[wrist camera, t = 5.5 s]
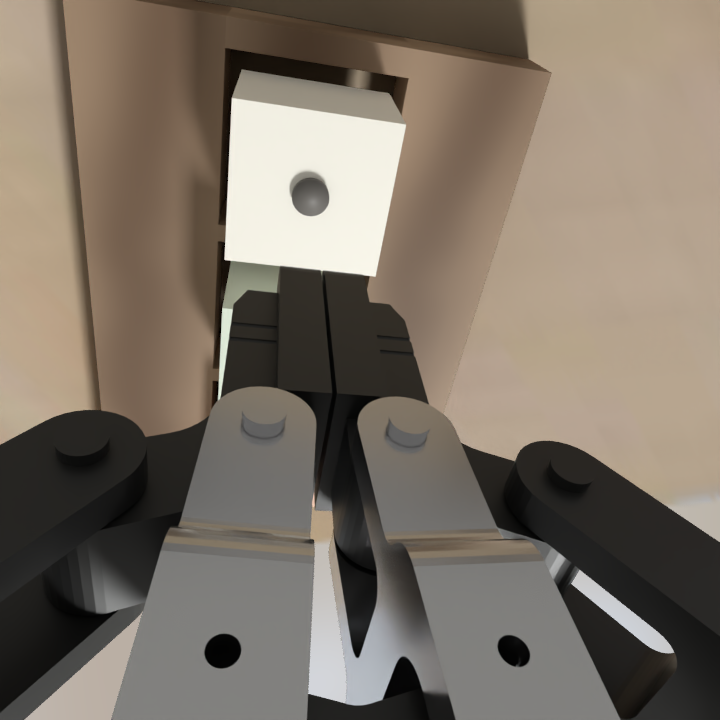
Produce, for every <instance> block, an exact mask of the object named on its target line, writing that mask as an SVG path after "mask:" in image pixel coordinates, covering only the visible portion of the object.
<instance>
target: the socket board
mask: <svg viewBox="0 0 720 720" xmlns="http://www.w3.org/2000/svg"><path fill="white" fill-rule="evenodd" d="M63 8H64V19H65V29H66V40H67V51H68V61H69V72H70V82H71V93H72V104H73V114H74V125H75V136H76V146H77V157H78V168H79V178H80V189H81V199H82V210H83V221H84V231H85V242H86V253H87V263H88V274H89V284H90V295H91V306H92V316H93V327H94V338H95V348H96V359H97V370H98V380H99V391H100V401H101V411H108V412H113V413H117V414H119V415H122V416H125V417H127V418H128V419H130V420H132V421H133V422H134V423H136V424H137V425H138V426H139V427H140V429H141V430H142V431H143V433H144V435H145V437H148V436H154V435H160V434H166V433H171V432H176V431H180V430H183V429H186V428H189V427H191V426H193V425H195V424H198V423H199V422H201V421H202V420H204V419H206V418H207V417H208V416H209V415H210V412H211V410H212V407H213V406H214V405H215V403H216V385H217V381H219V369H220V347H221V338H219V315H220V292H221V269H222V245H223V242H225V237H226V215H227V201H226V200H224V199H225V176H226V152H227V129H228V106H229V82H230V59H231V49H235V50H241V51H247V52H253V53H260V54H266V55H272V56H278V57H284V58H290V59H296V60H302V61H308V62H314V63H320V64H326V65H332V66H338V67H344V68H350V69H356V70H362V71H368V72H374V73H380V74H386V75H392V76H397V77H396V82H395V87H394V93H393V98H392V99H393V101H394V103H395V105H396V107H397V108H398V110H399V112H400V114H401V116H402V118H403V120H404V121H405V123H406V129H405V133H404V138H403V143H402V148H401V153H400V158H399V163H398V168H397V173H396V178H395V183H394V188H393V193H392V198H391V203H390V207H389V212H388V217H387V222H386V227H385V232H384V237H383V242H382V247H381V252H380V257H379V262H378V267H377V272H376V277H374V276H365V275H364V278H365V283H366V287H367V292H368V297H369V301H370V302H373V303H383V304H390V305H391V306H392V307H393V309H394V310H395V311H396V312H397V313H398V314H399V315H400V316H401V317H402V318H403V319H404V320H405V323H406V326H407V330H408V333H409V336H410V342H411V343H412V347H413V350H414V356H415V357H416V361H417V364H418V368H419V371H420V375H421V378H422V381H423V385H424V388H425V392H426V395H427V399H428V402H429V405H430V406H432V407H434V408H436V409H437V410H439V411H440V412H441V413H444V410H445V407H446V404H447V401H448V398H449V394H450V391H451V388H452V385H453V382H454V379H455V376H456V372H457V369H458V366H459V363H460V360H461V357H462V354H463V350H464V347H465V344H466V341H467V338H468V335H469V331H470V328H471V325H472V322H473V319H474V316H475V313H476V309H477V306H478V303H479V300H480V297H481V294H482V291H483V287H484V284H485V281H486V278H487V275H488V272H489V269H490V265H491V262H492V259H493V256H494V253H495V250H496V247H497V243H498V240H499V237H500V234H501V231H502V228H503V225H504V221H505V218H506V215H507V212H508V209H509V206H510V203H511V199H512V196H513V193H514V190H515V187H516V184H517V181H518V177H519V174H520V171H521V168H522V165H523V162H524V158H525V155H526V152H527V149H528V146H529V143H530V140H531V136H532V133H533V130H534V127H535V124H536V121H537V118H538V114H539V111H540V108H541V105H542V102H543V99H544V96H545V92H546V89H547V86H548V83H549V80H550V77H551V74H552V73H551V72H549V71H547V70H546V69H544V68H542V67H541V66H539V65H537V64H536V63H534V62H532V61H531V60H529V59H523V58H517V57H512V56H506V55H500V54H495V53H489V52H484V51H478V50H472V49H467V48H461V47H455V46H450V45H444V44H438V43H433V42H427V41H422V40H416V39H410V38H405V37H399V36H393V35H388V34H382V33H377V32H371V31H365V30H360V29H354V28H348V27H343V26H337V25H331V24H326V23H320V22H315V21H309V20H303V19H298V18H292V17H286V16H281V15H275V14H269V13H264V12H258V11H253V10H247V9H241V8H236V7H230V6H224V5H219V4H213V3H208V2H202V1H196V0H63Z"/></svg>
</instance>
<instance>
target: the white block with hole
mask: <svg viewBox="0 0 720 720" xmlns="http://www.w3.org/2000/svg"><path fill="white" fill-rule="evenodd" d="M405 129H406V123H405V121H404V120H403V118H402V116H401V114H400V112H399V110H398V108H397V107H396V105H395V103H394V101H393V99H392V97H391V95H390V94H389V93H384V92H378V91H372V90H366V89H359V88H353V87H347V86H341V85H335V84H328V83H322V82H316V81H310V80H304V79H297V78H291V77H285V76H279V75H273V74H267V73H260V72H254V71H248V70H241V73H240V76H239V79H238V82H237V85H236V87H235V90H234V93H233V96H232V105H231V127H230V149H229V171H228V193H227V215H226V237H225V259H224V260H229V261H238V262H247V263H257V264H266V265H275V266H288V267H297V268H306V269H315V270H321V271H323V270H326V271H335V272H344V273H353V274H362V275H365V276H374V277H376V272H377V267H378V262H379V257H380V252H381V247H382V242H383V237H384V232H385V227H386V222H387V217H388V212H389V207H390V203H391V198H392V193H393V188H394V183H395V178H396V173H397V168H398V163H399V158H400V153H401V148H402V143H403V138H404V133H405Z"/></svg>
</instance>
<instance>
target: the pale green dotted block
mask: <svg viewBox="0 0 720 720" xmlns="http://www.w3.org/2000/svg"><path fill="white" fill-rule="evenodd" d="M279 269H280V266H275V265H266V264H257V263H247V262H238V261H231V264H230V269H229V275H228V280H227V285H226V291H225V296H224V301H223V307H222V325H221V347H220V369H219V391H218V400H219V399H220V397H221V391H222V383H223V376H224V369H225V362H226V355H227V348H228V340H229V333H230V326H231V319H232V312H233V304H234V303H235V302H236V301H237V300H238V299H239V298H240V297H241V296H242V295H243V294H244V293H245V292H246V291H247V290H254V291H264V292H274V293H277V285H278V276H279ZM322 272H323V271H321V275H322Z"/></svg>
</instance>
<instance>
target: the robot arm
mask: <svg viewBox="0 0 720 720" xmlns="http://www.w3.org/2000/svg"><path fill="white" fill-rule="evenodd" d="M313 495H314V502H315V510H319V511H332V513H333V526H334V528H333V533H332V537H331V542H330V547H329V561H330V568H331V574H332V581H333V588H334V594H335V601H336V607H337V613H338V621H339V627H340V633H341V640H342V646H343V653H344V660H345V667H346V681H347V690H346V704H345V703H341V702H337V701H333V700H330V699H326V698H322V697H318V696H314V695H311V694H308V685H309V663H310V642H311V621H312V598H313V579H314V578H313V577H314V553H315V552H314V550H315V548H314V540H313V539H310V532H311V514H312V500H313ZM579 570H581V571H582V572H583V573H585V574H586V575H587V576H589V577H590V578H591V579H592V580H594V581H595V582H596V583H597V584H599V585H600V586H601V587H602V588H604V589H605V590H606V591H607V592H609V593H610V594H611V595H612V596H614V597H615V598H616V599H617V600H619V601H620V602H621V603H622V604H624V605H625V606H626V607H627V608H629V609H630V610H631V611H633V612H634V613H635V614H636V615H637V616H639V617H640V618H641V619H642V620H644V621H645V622H646V623H648V624H649V625H650V626H651V627H653V628H654V629H655V630H656V631H658V632H659V633H660V634H661V635H662V636H663V637H664V638H665V639H666V640H667V641H668V643H669V644H670V645H671V647H672V648H673V650H674V652H675V653H671V654H666V653H661V652H658V651H655V650H653V649H651V648H649V647H648V646H647V645H645V644H644V643H642V642H641V641H640V640H639V639H638V638H636V637H635V636H634V635H633V634H632V633H630V632H629V631H628V630H627V629H625V628H624V627H623V626H622V625H620V624H619V623H618V622H617V621H616V620H614V619H613V618H612V617H611V616H609V615H608V614H607V613H606V612H605V611H603V610H602V609H601V608H600V607H599V606H597V605H596V604H595V603H594V602H592V601H591V600H590V599H589V598H588V597H586V596H585V595H584V594H583V593H581V592H580V591H579V590H578V589H577V588H575V587H574V586H573V585H572V584H571V583H572V581H573V580H574V578H575V576H576V575H577V573H578V571H579ZM142 611H143V613H142V616H141V620H140V623H139V627H138V630H137V633H136V637H135V640H134V643H133V647H132V650H131V654H130V657H129V661H128V664H127V667H126V671H125V674H124V678H123V681H122V684H121V688H120V691H119V695H118V698H117V701H116V705H115V708H114V712H113V715H112V719H111V720H720V542H718V541H717V540H715V539H713V538H712V537H711V536H709V535H708V534H706V533H705V532H704V531H702V530H700V529H699V528H697V527H696V526H695V525H693V524H692V523H690V522H689V521H687V520H686V519H684V518H683V517H681V516H680V515H678V514H677V513H675V512H674V511H672V510H671V509H669V508H668V507H667V506H665V505H664V504H662V503H661V502H659V501H658V500H656V499H655V498H653V497H652V496H650V495H649V494H647V493H646V492H644V491H643V490H641V489H640V488H638V487H637V486H635V485H634V484H633V483H631V482H630V481H628V480H627V479H625V478H624V477H622V476H621V475H619V474H618V473H616V472H615V471H613V470H612V469H610V468H609V467H607V466H606V465H604V464H603V463H601V462H600V461H598V460H597V459H596V458H594V457H593V456H591V455H589V454H588V453H586V452H584V451H582V450H580V449H578V448H576V447H573V446H571V445H568V444H564V443H560V442H554V441H538V442H534V443H530V444H528V445H527V446H525V447H524V448H523V449H521V450H520V452H519V454H518V456H517V458H516V460H515V461H512V460H508V459H505V458H502V457H498V456H495V455H492V454H488V453H485V452H482V451H479V450H476V449H473V448H471V447H469V446H466V445H464V444H462V443H461V442H460V440H459V437H458V435H457V433H456V430H455V428H454V427H453V425H452V423H451V422H450V421H449V419H448V418H447V417H446V416H445V415H444V414H443V413H441V412H440V411H439V410H437V409H436V408H434V407H432V406H430V405H429V402H428V399H427V395H426V392H425V388H424V385H423V381H422V378H421V375H420V371H419V368H418V364H417V361H416V357H415V356H414V350H413V347H412V343H411V342H410V336H409V333H408V330H407V326H406V323H405V320H404V319H403V318H402V317H401V316H400V315H399V314H398V313H397V312H396V311H395V310H394V309H393V307H392V306H391V305H390V304H383V303H373V302H370V301H369V297H368V292H367V287H366V283H365V278H364V275H362V274H353V273H344V272H335V271H326V270H323V272H322V275H321V270H315V269H306V268H297V267H288V266H280V269H279V276H278V285H277V293H274V292H264V291H254V290H247V291H246V292H245V293H244V294H243V295H242V296H241V297H240V298H239V299H238V300H237V301H236V302H235V303H234V304H233V312H232V319H231V326H230V333H229V340H228V348H227V355H226V362H225V369H224V376H223V383H222V391H221V397H220V399H219V400H218V401H217V402H216V403H215V405H214V406H213V407H212V410H211V412H210V415H209V416H208V417H207V418H206V419H204V420H202V421H201V422H199V423H198V424H195V425H193V426H191V427H189V428H186V429H183V430H180V431H176V432H171V433H166V434H160V435H154V436H148V437H145V435H144V433H143V431H142V430H141V429H140V427H139V426H138V425H137V424H136V423H134V422H133V421H132V420H130V419H128V418H127V417H125V416H122V415H119V414H117V413H113V412H108V411H101V410H83V411H74V412H70V413H65V414H62V415H59V416H56V417H53V418H51V419H49V420H47V421H44V422H43V423H41V424H39V425H37V426H35V427H33V428H31V429H29V430H27V431H26V432H24V433H22V434H20V435H18V436H16V437H14V438H12V439H10V440H9V441H7V442H5V443H3V444H1V445H0V720H24V719H25V718H26V717H28V716H29V715H30V714H31V713H32V712H33V711H34V710H35V709H36V708H38V707H39V706H40V705H41V704H42V703H43V702H44V701H45V700H46V699H48V698H49V697H50V696H51V695H52V694H53V693H54V692H55V691H56V690H57V689H59V688H60V687H61V686H62V685H63V684H64V683H65V682H66V681H68V680H69V679H70V678H71V677H72V676H73V675H74V674H75V673H76V672H78V671H79V670H80V669H81V668H82V667H83V666H84V665H85V664H86V663H88V661H90V660H91V659H92V658H93V657H94V656H95V655H96V654H97V653H99V652H100V651H101V650H102V649H103V648H104V647H105V646H106V645H107V644H108V643H110V642H111V641H112V640H113V639H114V638H115V637H116V636H117V635H119V634H120V633H121V632H122V631H123V630H124V629H125V628H126V627H127V626H129V625H130V624H131V623H132V622H133V621H134V620H135V619H136V618H137V617H138V616H139V615H140V614H141V612H142Z"/></svg>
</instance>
